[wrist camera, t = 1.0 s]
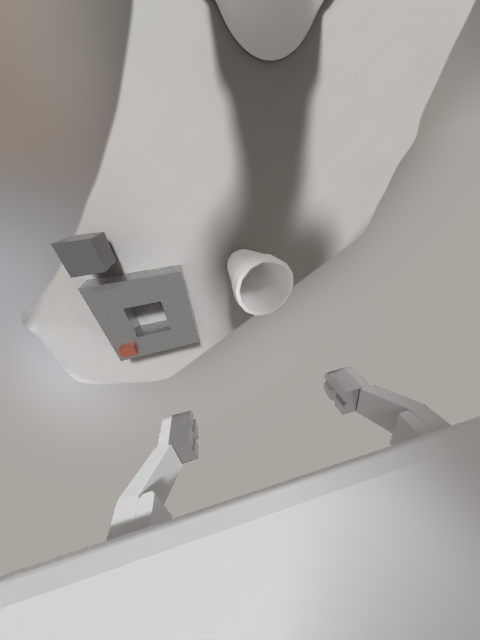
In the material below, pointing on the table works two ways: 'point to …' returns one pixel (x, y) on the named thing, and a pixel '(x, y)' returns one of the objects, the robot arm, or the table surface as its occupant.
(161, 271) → the socket
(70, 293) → the table surface
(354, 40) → the table surface
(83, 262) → the plug
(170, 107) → the table surface
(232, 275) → the foam cup
